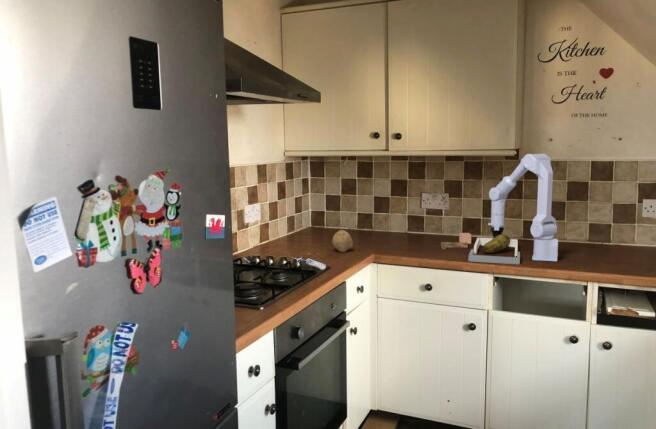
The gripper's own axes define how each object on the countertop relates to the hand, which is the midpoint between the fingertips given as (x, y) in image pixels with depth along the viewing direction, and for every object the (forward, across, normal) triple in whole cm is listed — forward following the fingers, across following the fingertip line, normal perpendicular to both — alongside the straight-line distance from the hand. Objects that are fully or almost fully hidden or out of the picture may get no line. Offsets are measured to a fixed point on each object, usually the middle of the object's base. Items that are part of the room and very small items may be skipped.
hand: (496, 243), depth 252 cm
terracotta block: (+2, -10, -15) cm, 18 cm away
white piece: (+2, +4, 0) cm, 5 cm away
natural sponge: (+3, +26, -66) cm, 71 cm away
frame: (+2, +23, 0) cm, 23 cm away
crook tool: (+2, +3, -18) cm, 19 cm away
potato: (+3, +9, 0) cm, 9 cm away
